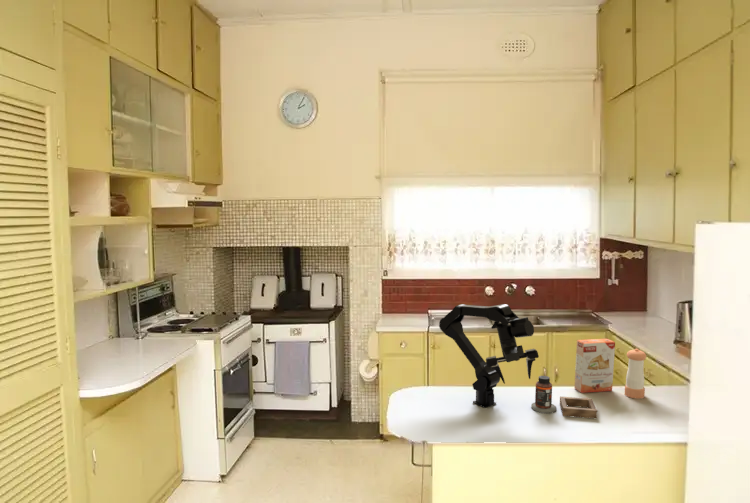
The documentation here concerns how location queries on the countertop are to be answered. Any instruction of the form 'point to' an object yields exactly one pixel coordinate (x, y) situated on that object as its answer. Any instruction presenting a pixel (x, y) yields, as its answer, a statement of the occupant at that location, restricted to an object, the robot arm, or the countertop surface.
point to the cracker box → (594, 365)
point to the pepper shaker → (635, 374)
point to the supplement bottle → (543, 393)
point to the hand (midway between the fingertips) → (517, 381)
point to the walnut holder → (578, 412)
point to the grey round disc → (549, 410)
